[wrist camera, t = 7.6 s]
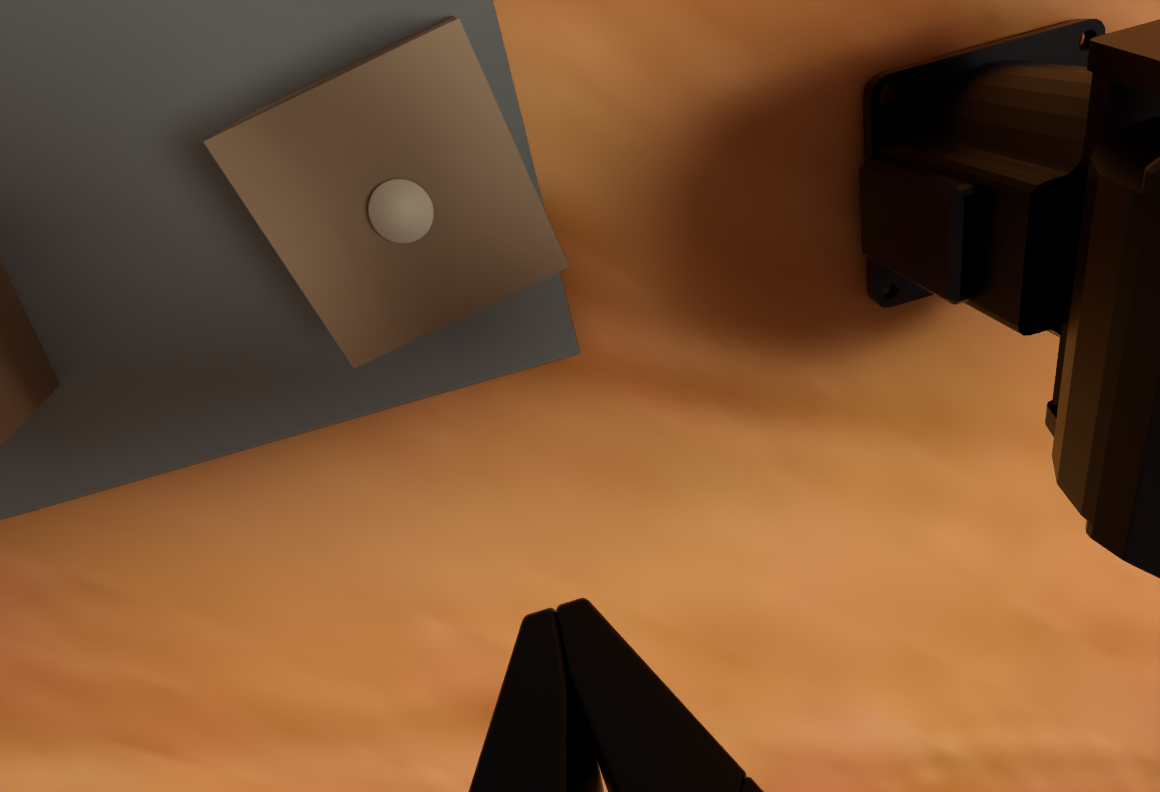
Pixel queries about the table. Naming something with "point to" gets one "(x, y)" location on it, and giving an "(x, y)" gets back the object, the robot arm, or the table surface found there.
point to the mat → (199, 238)
